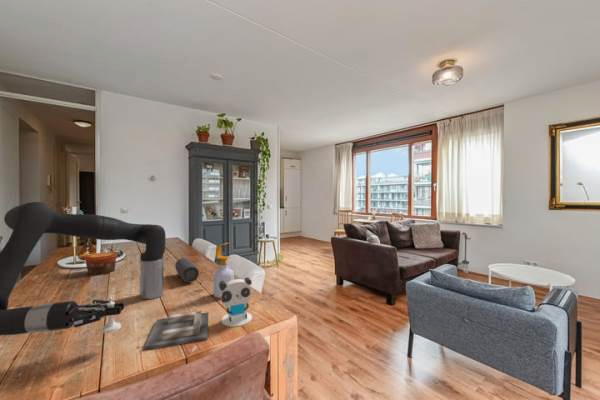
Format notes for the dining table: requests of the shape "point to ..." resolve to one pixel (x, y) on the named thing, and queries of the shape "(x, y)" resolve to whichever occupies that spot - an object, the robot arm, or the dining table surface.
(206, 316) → the u rest
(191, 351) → the dining table surface
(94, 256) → the food container
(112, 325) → the chess piece
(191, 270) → the bluetooth speaker
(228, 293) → the panda figurine
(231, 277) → the soap bottle
